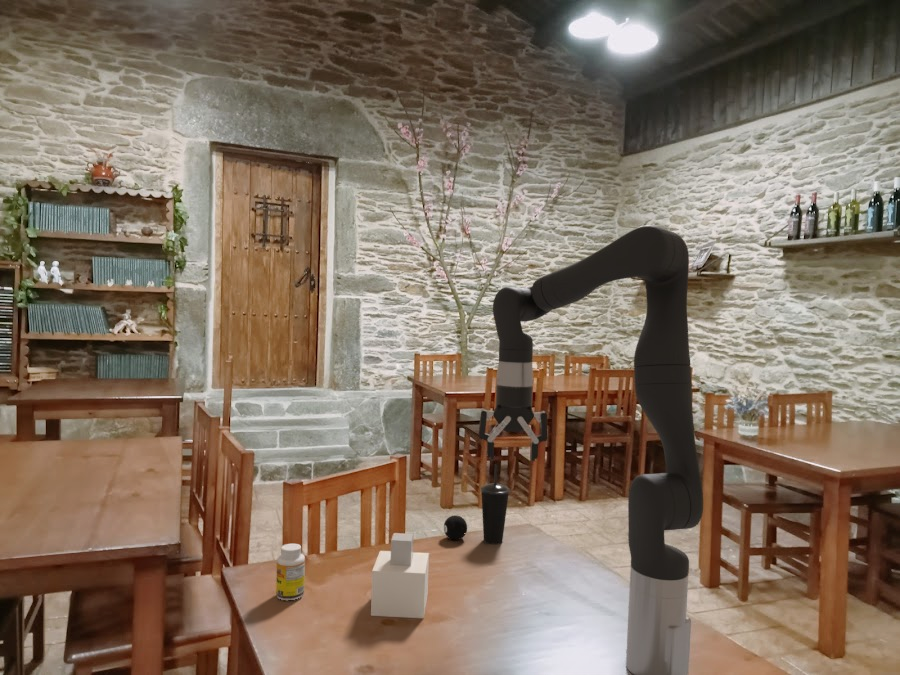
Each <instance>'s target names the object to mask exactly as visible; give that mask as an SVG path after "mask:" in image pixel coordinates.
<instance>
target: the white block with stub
mask: <svg viewBox="0 0 900 675" xmlns="http://www.w3.org/2000/svg"><path fill="white" fill-rule="evenodd" d="M429 560H430V552H415V551H414V533H401V532H394V533H393V534H392V536H391V540H390V550H379V552H378V555H377V558H376V560H375V563H374V565H373V568H372V570H371V597H370V599H371V600H370V602H371V603H370V616H372V617H389V618H409V619H424V618H425V612H426V608H427V607H426V605H427V602H428V600H427V599H428V595H429V594H428V593H429V590H428V589H429V562H430V561H429Z"/></svg>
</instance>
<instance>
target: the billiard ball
mask: <svg viewBox="0 0 900 675" xmlns="http://www.w3.org/2000/svg"><path fill="white" fill-rule="evenodd" d="M443 531H444V534H445V535H446V537H447V538H448V537H449V538H448V539H450V540H454V541H458V540H461V539H462V538H464V537H465V536H466V534H467V533H468V532H467V531H468V525H467V522H466V519H464V518H463V516H459V515H451V516H449V517H447V519H445V521H444V524H443ZM464 533H466V534H464Z"/></svg>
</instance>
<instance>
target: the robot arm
mask: <svg viewBox="0 0 900 675" xmlns="http://www.w3.org/2000/svg"><path fill="white" fill-rule="evenodd" d="M689 255H690V254H689V249H688V245H687V244H686V242H685V240H684V239H683V238H682V237H681V236H680V235H679V234H678V233H675V232H673V231H671V230H669V229H665V228H663V227H660V226H657V225H652V224H646V225H644V224H643V225H639V226H638V227H636V228H634V229H632V230H630V231H629V232H627V233H625V234H623V235H622V236H620V237H619V238H616V239H615V240H614V241H612V242H611V243H609V244H607V245H606V246H605V247H603V248H601V249H599V250H597V251H596V252H594V253H592V254H590V255H588V256H587V257H584V258H583V259H580V260H579V261H577V262H575V263H572V264H570V265H568V266H565V267H562V268H561V269H560V268H559V269H558V270H554V271H552V272H550V273H547V274H544V275H543V276H541V277H539V278H537V279H536V280H535V281H534V282H533V283H532V286H530V287H516V286H515V287H514V286H512V287H511V286H506V287H502V288H501V289H499V291H498V292H496V295H495V296H494V298H493V303H492V314H493V318H494V319H493V320H494V324H495V329H496V334H497V336H498V344H499V346H498V348H499V349H498V364H497V371H496V388H495V389H496V391H495V394H496V395H495V409H494V410H487V409H484V408H482V409H481V410H480V416H479V417H480V418H479V424H478V425H479V427H478V438H479V439H480V440H483V441H486V456H487V458H489V459H490V460H489V461H494V460H495V459H494V458H495V457H494V456H495V454H494V453H495V439H496V438H497V437H498V436H499V435H500V434H501V432H503V431H504V432H506V433H510V432H515V433H521V432H523V431H525V433H526V434H527V436H528V437H529V439H530V440H531V442H530V450H529V451H530V453H529V454H530V457H529V458H530V462H535V460H537V459H538V457H539V444H540V443H542V442H547V441H548V414H547V413H546V411H545V410H541V411H538V412H537V411H535V412H534V411H533V384H534V369H533V368H534V367H533V353H534V352H533V351H534V349H533V348H534V342H533V337H532V336H531V335H530V334H528V333H526V332H524V331H523V326H522V323H521V322H532V321H534V320H537V319H539V318H542V317H543V316H545V315H547V314H548V313H550V312H552V310H556V309H560V308H563V307H565V306H568V305H571V304H574V303H576V302H578V301H581V300H583V299H585V298H586V297H587V296H589V295H590V294H591V293H593V292H594V291H595V290H596V289H598V288H599V287H601V286H603V285H605V284H608V283H611V282H613V281H618V280H624V279H629V278H630V279H631V278H637V279H641V280H644V283H645V294H646V295H645V296H646V316H645V320H644V323H643V326H642V329H641V332H640V335H639V338H638V340H637V344H636V346H635V347H636V348H635V351H634V356H633V371H634V372H633V374H634V375H633V376H634V392H635V397H636V399H637V402H638V404H639V406H640V408H641V409H642V411H643V412H644V414H645V416H646V417H647V419H648V420H649V422H650V424H651V425H652V426H653V428H654V430H655V432H656V433H657V435H658V437H659V439H660V441H661V444H662V448H663V453H664V454H663V455H664V459H665V460H664V461H665V472H660V473H644V474H639V475H637V476H636V477H635V478H634V479H633V480H632V481H631V484H630V487H629V491H628V499H627V500H628V502H627V504H628V505H627V506H628V507H627V509H628V513H627V514H628V517H627V518H628V531H627V533H628V538H627V539H628V548H629V552H630V572H629V574H630V576H629V590H628V591H629V592H628V616H627V634H626V635H627V636H626V649H625V650H626V651H625V652H626V657H625V659H626V660H625V665H626V668H627V669H628V671H629V672H630V673H631V674H632V675H689V674H690V673H689V671H690V670H689V669H690V668H689V667H690V655H691V654H690V650H691V636H692V635H691V633H692V620H691V618H690V617H688V616H687V611H688V610H687V607H688V592H689V591H688V590H689V588H688V587H689V572H690V559H689V556H688V555H687V553H685V552H684V551H683V550H681V549H679V548H677V547H676V546H673V545H670V544H667V543H665V542H666V540H665V531H676V530H677V531H678V530H687V529H692V528H695V527H697V525H698V524H699V523H700V521H701V520H702V516H703V513H704V493H703V485H702V484H703V483H702V478H701V471H700V465H699V459H698V454H697V445H696V438H695V428H694V427H695V425H694V413H693V399H692V398H693V397H692V396H693V394H692V393H693V392H692V391H693V388H692V386H693V385H692V384H693V383H692V369H691V368H692V367H691V357H690V342H689V338H690V337H689V324H688V286H689V271H690V269H689V266H690V256H689ZM491 417H493V418H494V419H495V420H496V422H497V423H496V424H495V425H494V427H493V428H492V429H491V431H490V432H489V433H486V426H487V422H489V421H490V420H491ZM534 418H535V419H536V421H537V422H538V423H539V432H540V433H539V434H538V435H536V434H535V433H534V431H533V429H532V428H531V426H530V425H529V424H530V423H532V421H533V419H534Z"/></svg>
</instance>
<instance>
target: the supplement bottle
mask: <svg viewBox="0 0 900 675" xmlns="http://www.w3.org/2000/svg"><path fill="white" fill-rule="evenodd" d="M305 571H306V557H305V555H304V554H303V553H302V546H301V544H299V543H285V544H283V545H282V546H281V548H280V555H278V556H277V557H276V579H275V580H276V584H275V586H276V588H275V591H276V592H275V593H276V594H275V595H276V598H277V599H279V600H280V599H281V601H283V600H294V601H296V600H295V599H297V600H299V599H301V598H302V597H303V596H304V593H305V577H306V576H305V575H306V574H305V573H306V572H305ZM300 597H301V598H300ZM298 598H299V599H298Z"/></svg>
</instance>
